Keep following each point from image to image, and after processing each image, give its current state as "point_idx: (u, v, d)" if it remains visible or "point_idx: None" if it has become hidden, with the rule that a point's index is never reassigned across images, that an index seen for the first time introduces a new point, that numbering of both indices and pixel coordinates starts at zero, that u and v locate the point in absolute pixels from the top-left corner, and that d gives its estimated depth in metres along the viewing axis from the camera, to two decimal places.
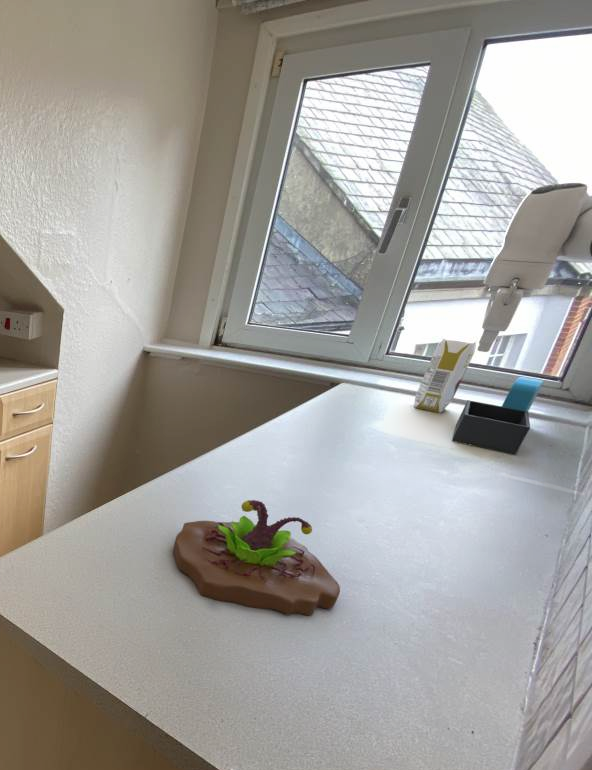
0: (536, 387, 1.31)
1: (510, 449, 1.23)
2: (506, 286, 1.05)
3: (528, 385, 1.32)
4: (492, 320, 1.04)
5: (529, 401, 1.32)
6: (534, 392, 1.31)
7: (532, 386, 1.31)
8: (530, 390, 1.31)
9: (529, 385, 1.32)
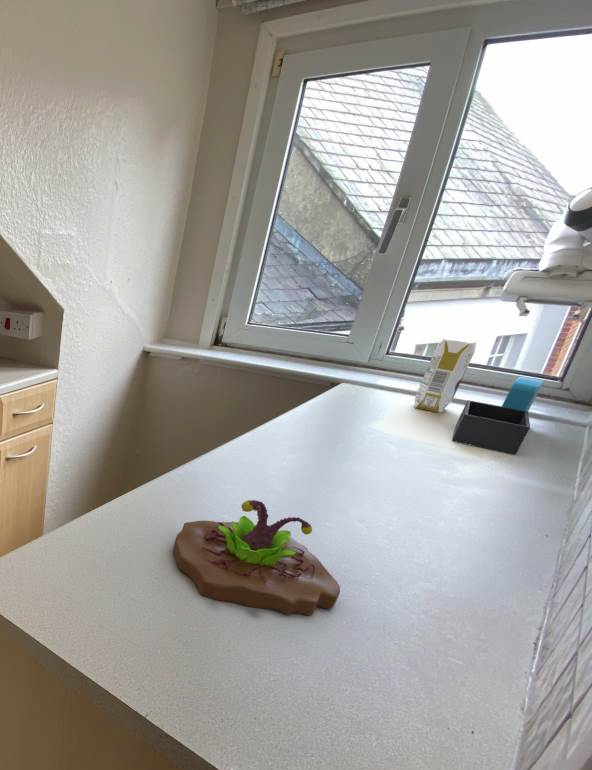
0: (536, 387, 1.31)
1: (510, 449, 1.23)
2: None
3: (528, 385, 1.32)
4: (501, 293, 1.43)
5: (529, 401, 1.32)
6: (534, 392, 1.31)
7: (532, 386, 1.31)
8: (530, 390, 1.31)
9: (529, 385, 1.32)
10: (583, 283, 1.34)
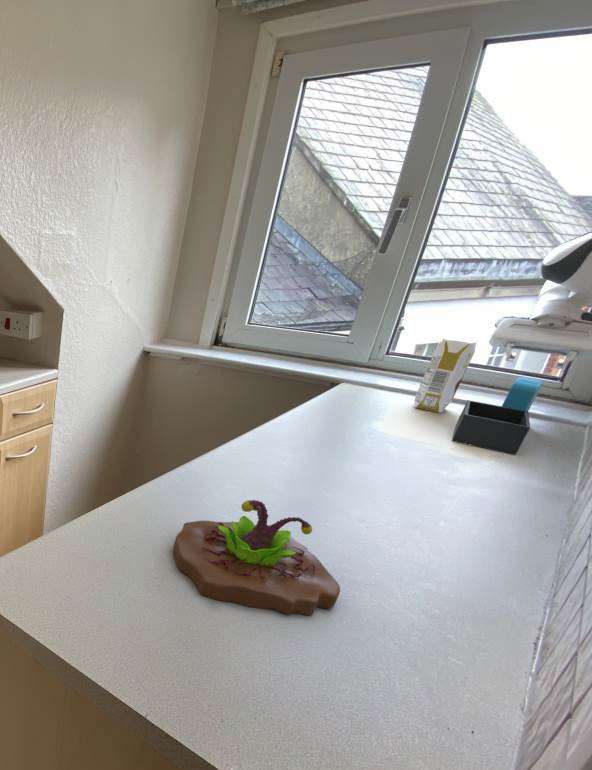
0: (536, 387, 1.31)
1: (510, 449, 1.23)
2: None
3: (528, 385, 1.32)
4: None
5: (529, 401, 1.32)
6: (534, 392, 1.31)
7: (532, 386, 1.31)
8: (530, 390, 1.31)
9: (529, 385, 1.32)
10: (570, 333, 1.38)
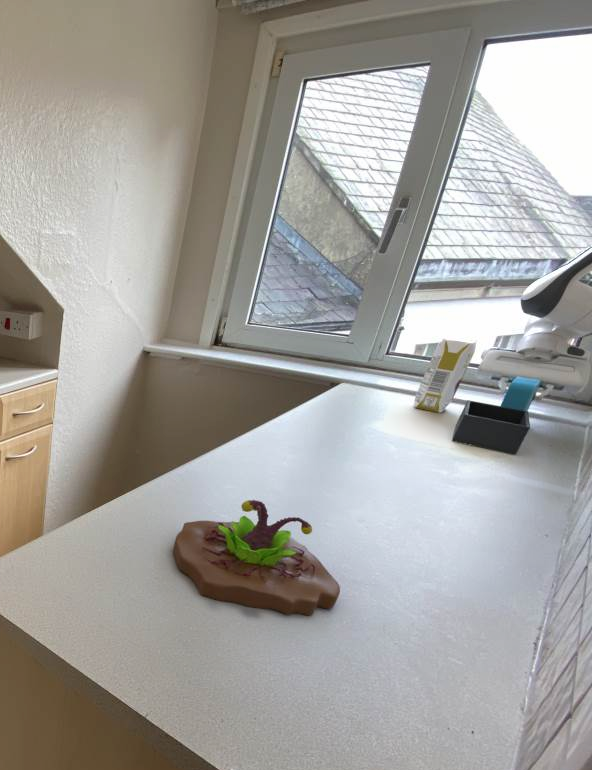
0: (534, 386, 1.31)
1: (510, 449, 1.23)
2: None
3: (526, 384, 1.32)
4: None
5: (527, 400, 1.32)
6: (532, 391, 1.31)
7: (530, 385, 1.32)
8: (528, 389, 1.32)
9: (527, 384, 1.32)
10: (556, 367, 1.36)
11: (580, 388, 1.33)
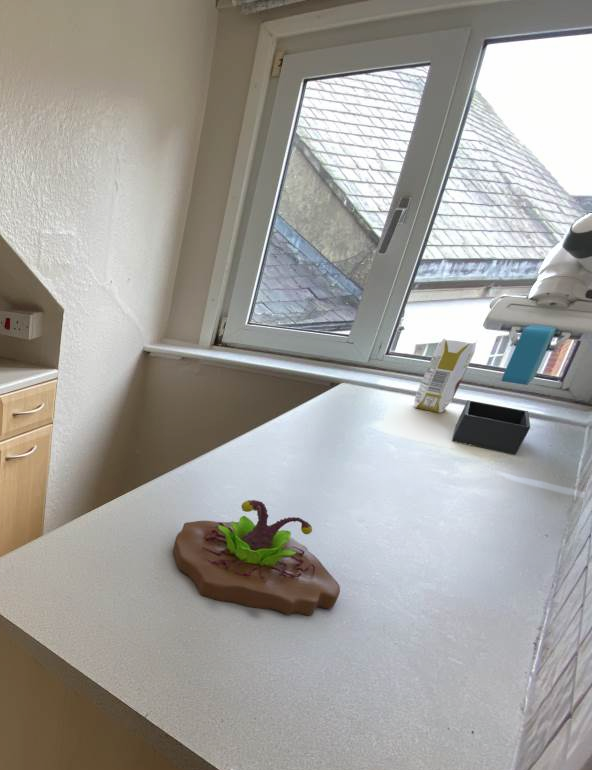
0: (549, 332, 1.18)
1: (510, 449, 1.23)
2: None
3: (540, 330, 1.19)
4: None
5: (542, 348, 1.19)
6: (547, 337, 1.18)
7: (544, 331, 1.19)
8: (542, 335, 1.19)
9: (541, 330, 1.19)
10: (573, 313, 1.23)
11: None
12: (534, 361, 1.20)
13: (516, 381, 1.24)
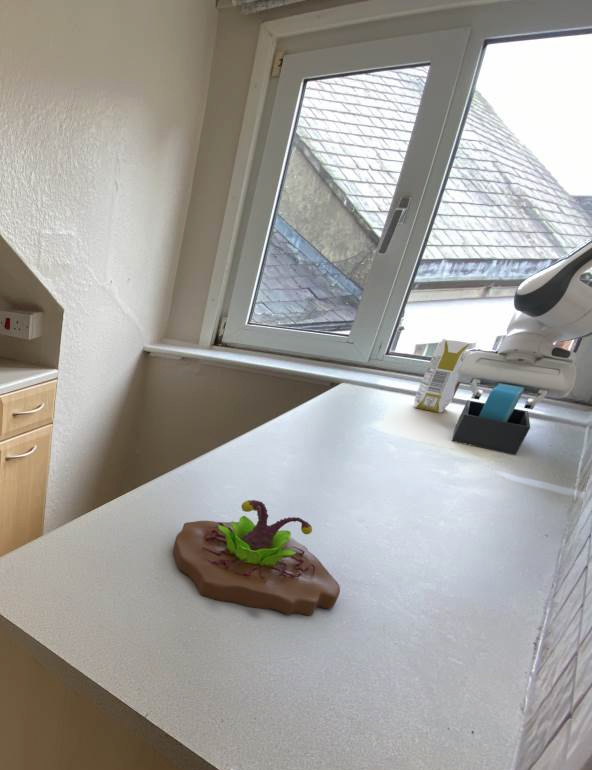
0: (515, 395, 1.22)
1: (510, 449, 1.23)
2: None
3: (507, 392, 1.23)
4: (456, 373, 1.36)
5: (508, 410, 1.23)
6: (513, 400, 1.22)
7: (511, 393, 1.22)
8: (509, 398, 1.22)
9: (508, 392, 1.23)
10: (540, 370, 1.27)
11: (566, 392, 1.23)
12: None
13: None
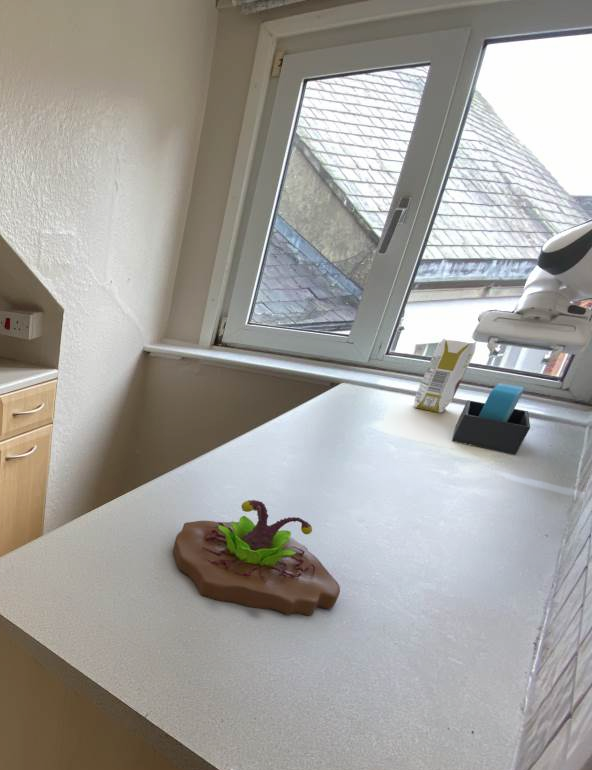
0: (515, 395, 1.22)
1: (510, 449, 1.23)
2: None
3: (507, 392, 1.23)
4: None
5: (508, 410, 1.23)
6: (513, 400, 1.22)
7: (511, 393, 1.22)
8: (509, 398, 1.22)
9: (508, 392, 1.23)
10: (556, 327, 1.30)
11: (581, 348, 1.27)
12: None
13: None
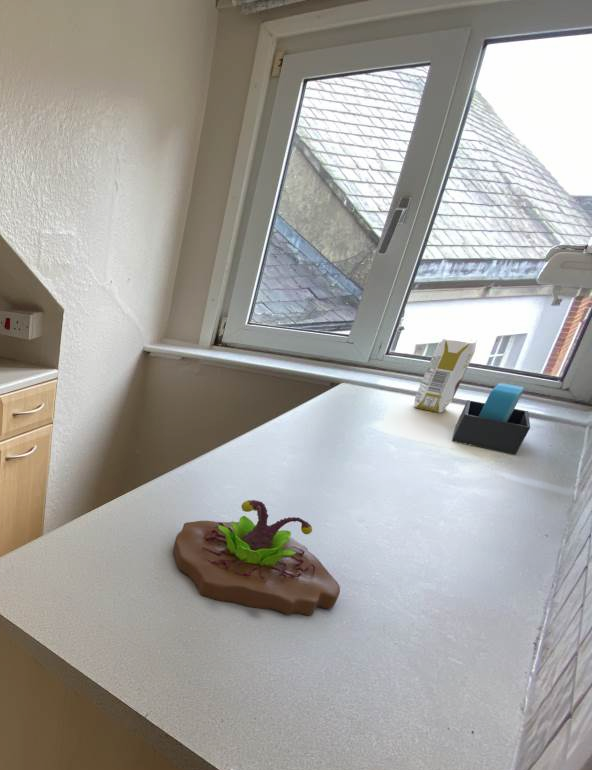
0: (515, 395, 1.22)
1: (510, 449, 1.23)
2: (584, 251, 1.29)
3: (507, 392, 1.23)
4: (538, 275, 1.35)
5: (508, 410, 1.23)
6: (513, 400, 1.22)
7: (511, 393, 1.22)
8: (509, 398, 1.22)
9: (508, 392, 1.23)
10: None
11: None
12: None
13: None
